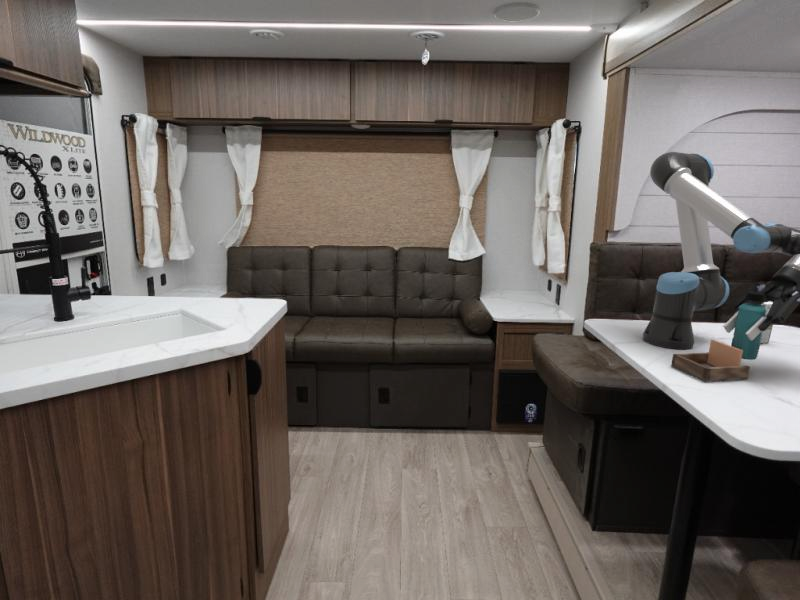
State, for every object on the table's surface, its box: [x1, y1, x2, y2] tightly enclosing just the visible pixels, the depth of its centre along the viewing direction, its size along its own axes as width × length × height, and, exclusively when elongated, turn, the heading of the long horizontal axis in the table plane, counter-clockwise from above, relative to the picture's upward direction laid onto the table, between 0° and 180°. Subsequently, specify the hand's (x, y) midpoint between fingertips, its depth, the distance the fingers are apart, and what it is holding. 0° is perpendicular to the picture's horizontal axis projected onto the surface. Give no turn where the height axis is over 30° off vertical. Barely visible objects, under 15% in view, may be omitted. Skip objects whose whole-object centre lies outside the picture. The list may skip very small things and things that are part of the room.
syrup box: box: [760, 300, 774, 344], centre depth 168 cm, size 6×6×14 cm
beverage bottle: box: [730, 291, 766, 361], centre depth 136 cm, size 6×7×20 cm
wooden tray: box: [670, 351, 751, 383], centre depth 137 cm, size 14×12×4 cm
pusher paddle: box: [707, 339, 743, 367], centre depth 137 cm, size 1×9×7 cm, turn 13°
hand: (737, 333), depth 136 cm, fingers closed on beverage bottle, 6 cm apart
